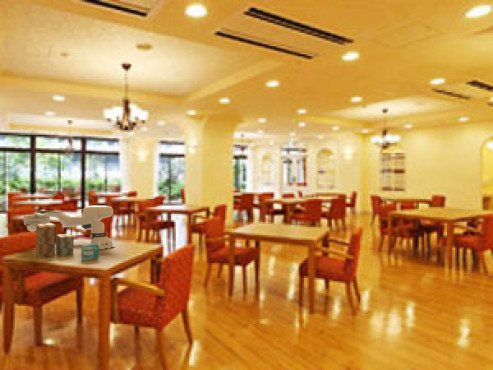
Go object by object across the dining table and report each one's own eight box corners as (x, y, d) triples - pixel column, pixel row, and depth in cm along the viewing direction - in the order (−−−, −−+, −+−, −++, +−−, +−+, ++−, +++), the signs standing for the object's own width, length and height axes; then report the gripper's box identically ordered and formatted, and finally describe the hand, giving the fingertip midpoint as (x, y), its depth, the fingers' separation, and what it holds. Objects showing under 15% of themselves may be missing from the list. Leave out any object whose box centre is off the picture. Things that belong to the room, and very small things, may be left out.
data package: (82, 261, 283) (82, 245, 283) (81, 260, 287) (81, 244, 286) (98, 259, 290) (98, 244, 290) (96, 258, 294) (97, 243, 294)
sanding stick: (39, 215, 320) (39, 212, 320) (45, 218, 303) (45, 215, 303) (34, 215, 317) (34, 213, 317) (40, 218, 301) (40, 215, 300)
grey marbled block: (68, 252, 313) (68, 233, 313) (73, 254, 304) (73, 235, 304) (55, 253, 307) (56, 234, 307) (60, 256, 297) (60, 236, 297)
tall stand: (50, 254, 304) (51, 223, 304) (54, 256, 294) (55, 224, 294) (35, 255, 297) (36, 223, 296) (39, 258, 287) (40, 225, 287)
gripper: (48, 223, 328) (52, 217, 319) (22, 225, 314) (25, 218, 305) (47, 217, 330) (51, 210, 321) (21, 218, 317) (24, 211, 308)
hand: (38, 214), depth 313 cm, fingers closed on sanding stick, 4 cm apart
